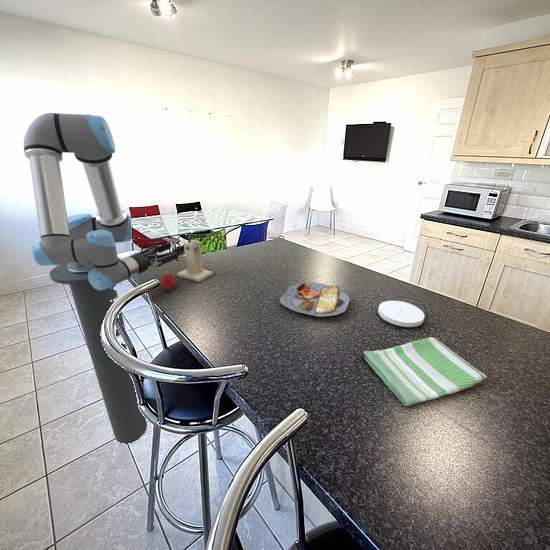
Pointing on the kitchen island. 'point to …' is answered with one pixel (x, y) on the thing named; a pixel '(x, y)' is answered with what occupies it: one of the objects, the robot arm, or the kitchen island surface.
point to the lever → (184, 252)
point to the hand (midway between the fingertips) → (176, 247)
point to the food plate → (315, 299)
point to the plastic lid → (401, 313)
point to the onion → (168, 281)
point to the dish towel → (422, 370)
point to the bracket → (194, 263)
